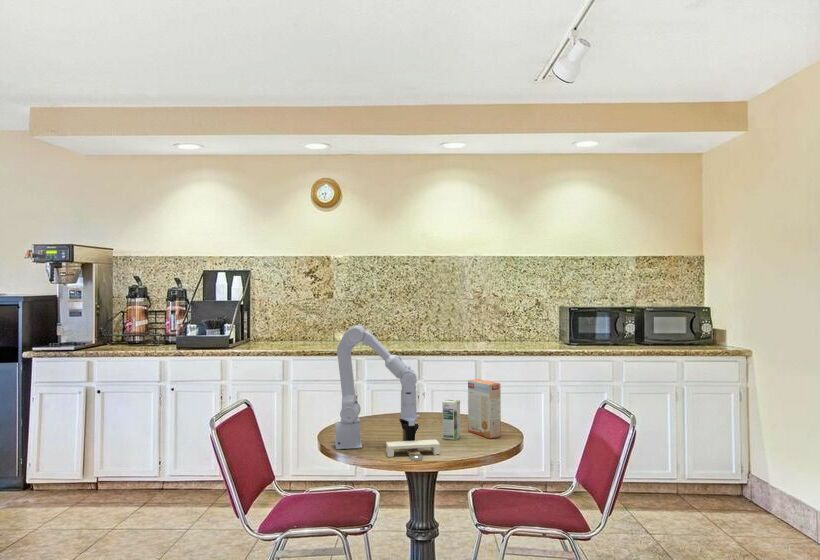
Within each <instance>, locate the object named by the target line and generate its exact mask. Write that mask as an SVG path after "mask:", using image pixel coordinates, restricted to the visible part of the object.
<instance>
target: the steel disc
mask: <svg viewBox="0 0 820 560" xmlns="http://www.w3.org/2000/svg"><path fill="white" fill-rule="evenodd" d="M410 459H411V460H410ZM422 459H424V455H423V454H421V453H420V454H411V455H410V457H409V460H410V461H412V460H421V461H423V460H422Z"/></svg>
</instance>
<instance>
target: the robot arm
mask: <svg viewBox="0 0 820 560" xmlns="http://www.w3.org/2000/svg"><path fill="white" fill-rule="evenodd" d="M360 342H361V345H362V346H367V347H370V348H371V349H372V350H373V351H374V352H375V353H376V354H377V355H378V356H380V357H381V359H382V360H384V363H385V364H384V366H385V368H386V369H387V370H388V371H390V373H391V374H392V375H393V376H395V377H396V379H399V381H400V384H401V389H400V418H398V420H399V422H400V424H401V429H402V430H403V429H405V433H406V439H407V441H414V439H415V434H416V431H417V429H419V427H420V425H418V424H419V423H417V424H415V423H416V419H420V417H421V416H420V414H417V407H418V406H417V401H418V400H417V396H418V395H417V385H416V384H417V378H418V377H417V374H416V372H415V371H414V370H413V369H411V366H408V365H407V364H406V363H405V362H404V361H403V360H402V359H403V358H402V356H401V355H399V356H398V355H397V354H391V352H390V351H389V350H388V349H386V347H385V346H384V345H383V344H382V343H381V342H380V340H378V339H377V337H376V336H374V335H373V334H372V333H371V332H370V331H369V330H366V328H365V326H363V325H361V324H356V325H353V326H351V327H349V328H348V329H346V331H345V332H344V333H343V335H342V337H341V339H340V342H339V343H338V345H337V348H336V352H337V360H338V371H339V379H340V388H341V396H342V397H341V409H340V413H339V416H340V421H337V422H336V421H335V422H334V423H335V425H334V429H335V430H334V433H335V434H334V441H333V443H334V445H335V450H344V449H345V450H347V449H349V450H350V449H363V444H362V441H361V419H360V417H359V415H360V414H361V405H360V404H359V402H358V398H357V395H356V387H355V380H354V370H353V361H352V353H351V351H352V350H354V348H355V347H356V346H357V345H358V344H359V343H360Z"/></svg>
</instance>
